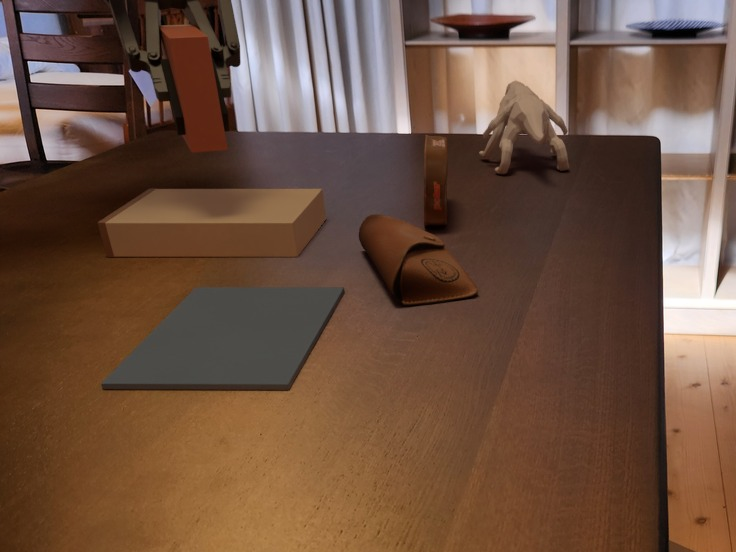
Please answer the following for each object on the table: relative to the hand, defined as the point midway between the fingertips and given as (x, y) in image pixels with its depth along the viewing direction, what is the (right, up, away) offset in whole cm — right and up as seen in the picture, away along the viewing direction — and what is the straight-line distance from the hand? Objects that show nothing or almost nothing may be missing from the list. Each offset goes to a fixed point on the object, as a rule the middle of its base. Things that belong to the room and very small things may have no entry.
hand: (202, 124), depth 88 cm
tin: (+22, -4, +16) cm, 27 cm away
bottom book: (-1, -8, +10) cm, 13 cm away
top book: (-2, 0, +4) cm, 4 cm away
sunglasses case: (+21, -15, -1) cm, 26 cm away
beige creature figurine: (+33, +10, +36) cm, 50 cm away
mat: (+8, -24, -14) cm, 29 cm away
